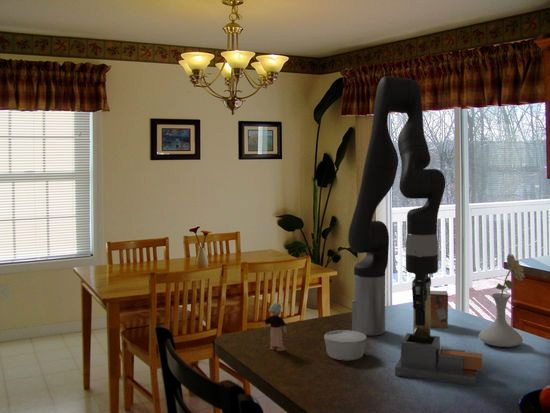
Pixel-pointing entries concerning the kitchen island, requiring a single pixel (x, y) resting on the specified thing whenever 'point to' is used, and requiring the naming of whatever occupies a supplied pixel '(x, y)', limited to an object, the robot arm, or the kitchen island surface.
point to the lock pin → (467, 359)
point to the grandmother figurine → (276, 327)
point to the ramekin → (345, 344)
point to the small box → (439, 309)
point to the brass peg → (425, 330)
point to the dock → (432, 362)
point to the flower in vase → (503, 313)
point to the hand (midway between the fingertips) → (421, 322)
